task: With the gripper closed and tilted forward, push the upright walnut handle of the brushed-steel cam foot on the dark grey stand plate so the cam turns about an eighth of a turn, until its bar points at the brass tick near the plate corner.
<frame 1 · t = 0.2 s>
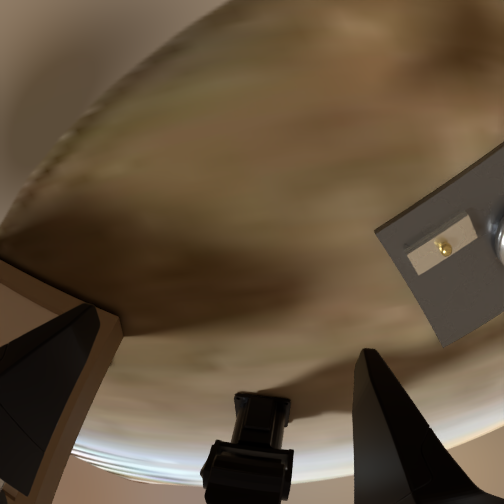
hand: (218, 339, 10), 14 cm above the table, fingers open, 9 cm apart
photo frame: (53, 318, 35), on the table
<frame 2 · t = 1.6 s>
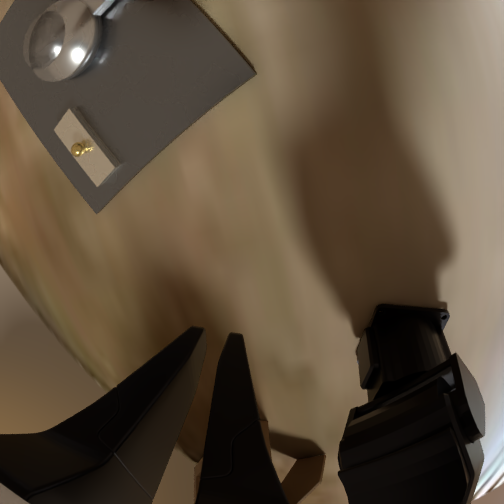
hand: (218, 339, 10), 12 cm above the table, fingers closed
photo frame: (260, 455, 39), on the table
stand plate: (76, 39, 16), on the table
cam: (22, 7, 9), point 7 cm above the table, hinge at 0.0°
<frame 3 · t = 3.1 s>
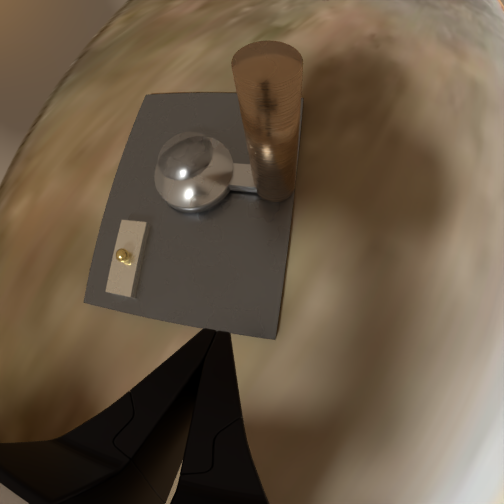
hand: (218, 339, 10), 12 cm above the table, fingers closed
stand plate: (198, 181, 25), on the table
cam: (208, 130, 18), point 7 cm above the table, hinge at 0.0°
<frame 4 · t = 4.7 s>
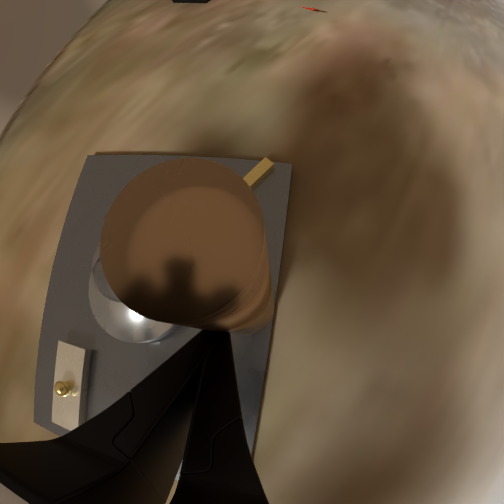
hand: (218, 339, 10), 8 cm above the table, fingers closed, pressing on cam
stand plate: (148, 292, 18), on the table
cam: (132, 269, 12), point 7 cm above the table, hinge at 0.0°, touching gripper
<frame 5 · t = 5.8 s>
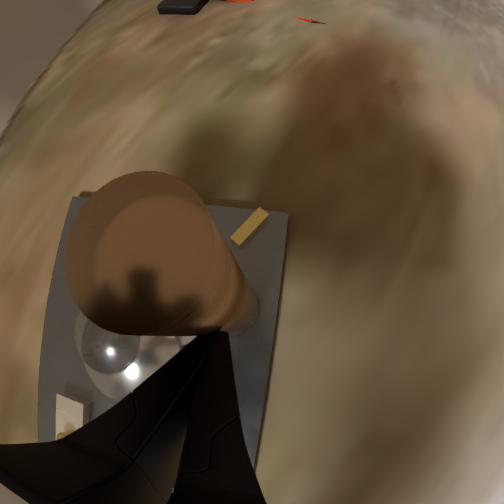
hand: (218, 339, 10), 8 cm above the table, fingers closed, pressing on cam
stand plate: (141, 349, 18), on the table
cam: (114, 329, 11), point 7 cm above the table, hinge at 33.0°, touching gripper
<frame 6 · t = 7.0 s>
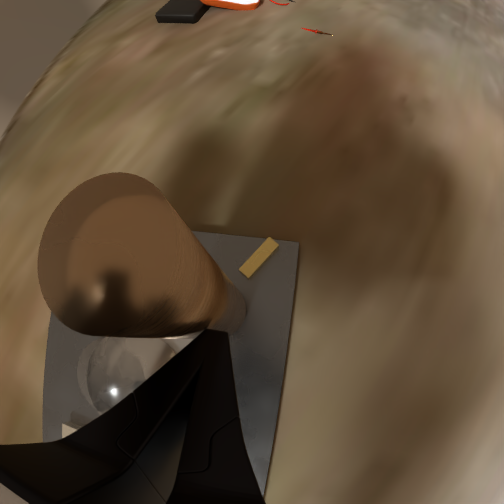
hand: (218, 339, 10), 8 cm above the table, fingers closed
stand plate: (148, 381, 17), on the table
multimeter: (256, 7, 26), on the table
cam: (113, 361, 10), point 7 cm above the table, hinge at 52.4°
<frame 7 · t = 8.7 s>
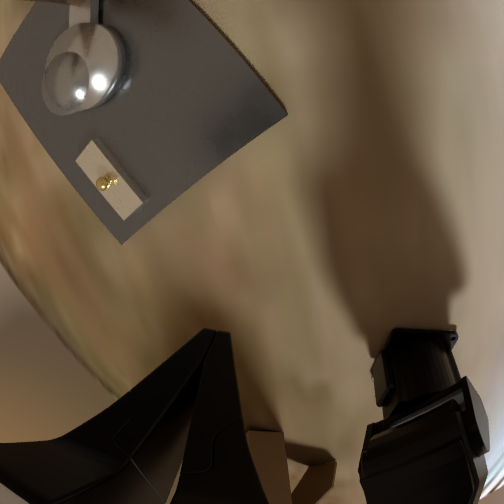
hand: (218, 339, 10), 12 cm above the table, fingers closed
photo frame: (273, 463, 39), on the table
stand plate: (95, 65, 17), on the table
cam: (19, 35, 10), point 7 cm above the table, hinge at 52.5°
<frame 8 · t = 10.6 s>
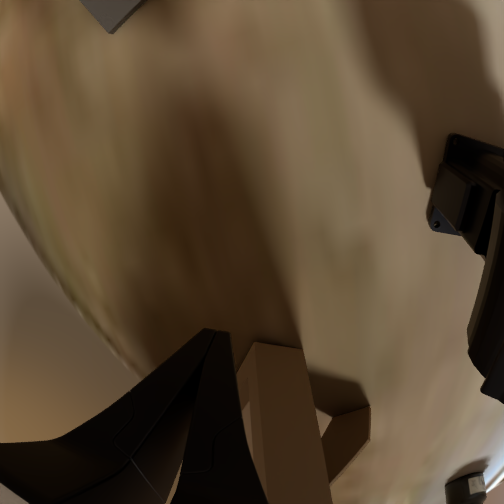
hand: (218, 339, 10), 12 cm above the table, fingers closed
photo frame: (285, 414, 32), on the table
ink bottle: (463, 479, 41), on the table
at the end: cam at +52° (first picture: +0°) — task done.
